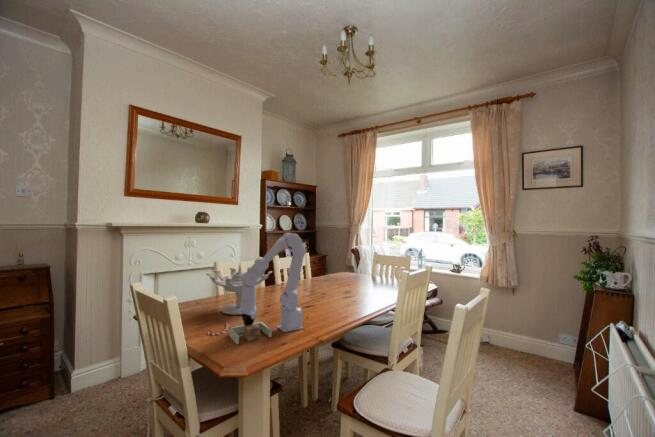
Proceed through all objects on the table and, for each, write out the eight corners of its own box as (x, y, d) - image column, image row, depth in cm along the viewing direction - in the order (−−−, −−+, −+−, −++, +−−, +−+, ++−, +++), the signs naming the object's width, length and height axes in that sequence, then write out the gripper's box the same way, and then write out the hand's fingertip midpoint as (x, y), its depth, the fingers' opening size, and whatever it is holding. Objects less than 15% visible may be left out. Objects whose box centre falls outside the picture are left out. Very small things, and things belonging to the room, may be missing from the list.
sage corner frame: (261, 328, 136) (261, 321, 136) (271, 336, 126) (271, 329, 126) (228, 334, 127) (228, 328, 127) (236, 344, 118) (236, 336, 118)
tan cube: (255, 335, 128) (255, 323, 128) (259, 339, 124) (260, 327, 124) (244, 337, 125) (244, 325, 125) (248, 341, 121) (248, 329, 121)
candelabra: (277, 316, 152) (278, 264, 152) (204, 324, 139) (205, 267, 139) (266, 299, 184) (266, 256, 184) (205, 305, 171) (206, 258, 171)
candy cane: (234, 322, 141) (222, 334, 126) (234, 325, 141) (222, 337, 126) (218, 321, 141) (204, 333, 126) (218, 324, 141) (204, 336, 126)
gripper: (234, 297, 132) (234, 327, 132) (245, 305, 120) (244, 338, 120) (249, 295, 136) (249, 324, 136) (261, 302, 124) (261, 334, 124)
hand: (248, 330), depth 129 cm, fingers closed
